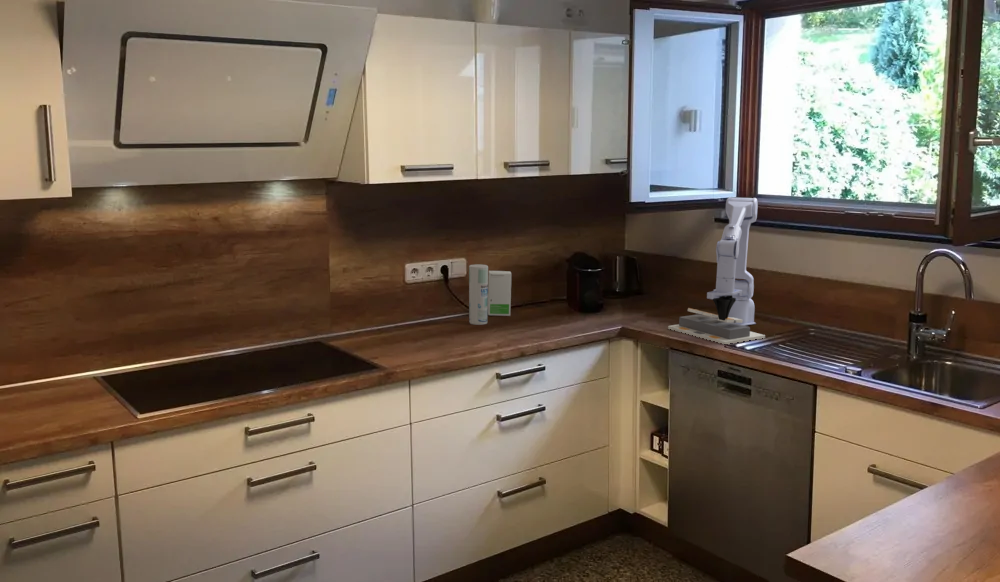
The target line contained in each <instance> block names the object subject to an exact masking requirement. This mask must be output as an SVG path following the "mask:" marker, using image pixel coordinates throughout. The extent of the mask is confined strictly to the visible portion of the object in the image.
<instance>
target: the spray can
mask: <svg viewBox="0 0 1000 582" xmlns="http://www.w3.org/2000/svg"><path fill="white" fill-rule="evenodd" d="M488 281H489V266H488V265H487V264H480V263H479V264H477V263H475V264H469V266H468V286H469V287H468V300H469V301H468V302H469V303H468V306H469V307H468V311H469V314H468V317H469V319H468V321H469V324H470V325H478V326H480V325H487V324H488Z"/></svg>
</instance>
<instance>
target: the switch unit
mask: <svg viewBox="0 0 1000 582" xmlns="http://www.w3.org/2000/svg"><path fill="white" fill-rule="evenodd" d="M667 328H668V330H670V329H671V330H670V331H674V330H675V332H679V333H681V332H682V333H681V334H685V333H686V334H685V335H688V334H689V336H692V335H693V337H695V336H696V338H699V337H700V338H699V339H702V338H704V339H703V340H706V339H707V341H709V340H711V341H710V342H713V341H715V342H714V343H716V342H718V343H717V344H720V343H722V344H721V345H724V344H728V345H731V344H730V343H733V344H738V343H737V342H739V343H744V342H743V341H745V342H750V341H749V340H751V341H756V340H755V339H757V340H763V339H766V335H765V334H762V333H757V332H754V331H751V327H750V326H749V325H745V326H744V325H740V324H736V323H729V322H723V321H719V320H718V319H717V318H713V317H709V316H705V315H701V314H697V313H696V314H692V315H691V314H690V315H685V316H679V319H678V324H673V325H667ZM762 338H763V339H762Z"/></svg>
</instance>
